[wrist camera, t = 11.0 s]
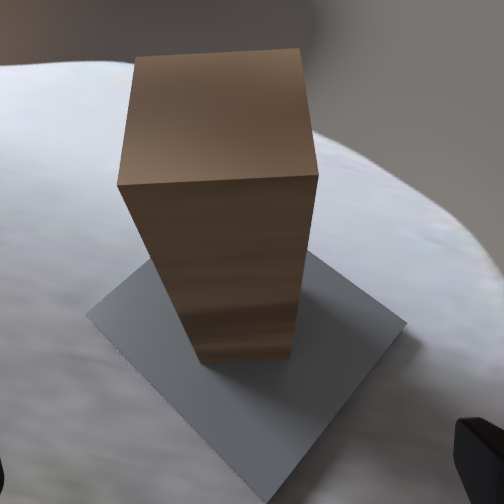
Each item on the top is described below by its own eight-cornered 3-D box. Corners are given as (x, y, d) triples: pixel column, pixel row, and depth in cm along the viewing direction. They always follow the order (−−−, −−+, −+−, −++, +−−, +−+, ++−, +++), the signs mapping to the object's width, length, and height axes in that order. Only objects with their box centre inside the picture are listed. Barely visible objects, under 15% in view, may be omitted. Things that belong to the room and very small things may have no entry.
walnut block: (289, 358, 22) (318, 175, 10) (200, 363, 22) (116, 185, 10) (283, 278, 24) (299, 48, 12) (201, 282, 24) (136, 56, 12)
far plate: (401, 331, 24) (407, 323, 22) (266, 504, 20) (266, 504, 19) (229, 203, 28) (227, 192, 27) (92, 322, 24) (84, 314, 23)
